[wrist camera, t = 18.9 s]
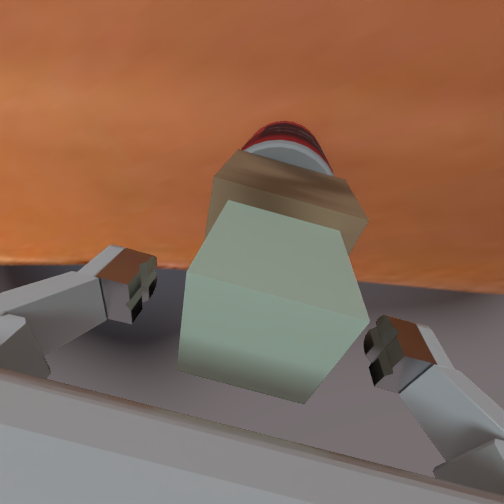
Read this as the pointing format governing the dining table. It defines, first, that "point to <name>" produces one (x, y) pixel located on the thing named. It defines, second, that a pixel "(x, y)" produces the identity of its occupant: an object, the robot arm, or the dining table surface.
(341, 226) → the walnut block
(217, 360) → the sage cube
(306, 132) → the canned food
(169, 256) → the dining table surface
